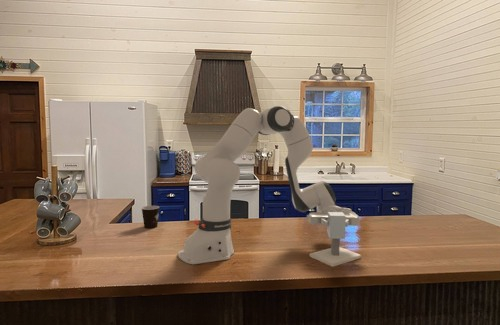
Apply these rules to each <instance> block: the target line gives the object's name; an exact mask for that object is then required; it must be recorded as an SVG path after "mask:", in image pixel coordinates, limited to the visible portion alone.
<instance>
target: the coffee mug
mask: <svg viewBox="0 0 500 325" xmlns="http://www.w3.org/2000/svg"><path fill="white" fill-rule="evenodd" d="M159 212H160V206H158V205H145V206H143V207H141V213H142V220H143V227H144V229H148V230H150V229H156V228H157V227H158V225H159V224H158V223H159V215H160V213H159Z"/></svg>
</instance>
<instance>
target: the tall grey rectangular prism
mask: <svg viewBox="0 0 500 325" xmlns="http://www.w3.org/2000/svg"><path fill="white" fill-rule="evenodd" d="M328 221H329V226H326V227H327V229H326V230H327V231H326V235H327V236H328V238H329V239H331V240H332V239H340V240H341V239H342V240H343V239H344V240H345V239H346V227H345V222H346V216H345V215H344V213H343V212H328Z"/></svg>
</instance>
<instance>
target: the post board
mask: <svg viewBox="0 0 500 325" xmlns="http://www.w3.org/2000/svg"><path fill="white" fill-rule="evenodd" d="M340 240H341V239H332V238H331V247H330V248H326V249H322V250H317V251H314V252H310V253H309V257H310V258H312V259H314V260H317V261H319V262H321V263H323V264H325V265H327V266H330V267H336V266H340V265H343V264H346V263H349V262H352V261H356V260H358V259H361V258H362V254H359V253H357V252H354V251H352V250H350V249H346V248H344V247H341V246H340V245H341V244H340V243H341V242H340Z"/></svg>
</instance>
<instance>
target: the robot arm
mask: <svg viewBox="0 0 500 325" xmlns="http://www.w3.org/2000/svg"><path fill="white" fill-rule="evenodd" d="M257 134H259V135H262V136H269V135H270V136H271V135H276V134H279V135H280V136H281V137H282V138H283V140H284V143H285V145H286V148H287V156H286V157H285V158H284V162H285V164H284V165H285V169H286V174H287V178H288V179H287V180H288V182H289V186H290V187H289V188H290V191H291V202H292V204H293V206H294V207H293V208H294V209H295V210H296V211H298V212H300V213H301V212H302V213H306V212H308V211H310V210H312V209H313V208H316V211H315V212H314V211H312V212H309V213H308V214H306V218H307V219H308V224H309V225H313V226H325V227H327V226H329V221H328V212H343V213H344V215H345V216H346V222H345V228H346V227H349V226H350V227H351V226H352V227H353V226H355V227H357V226H359V225H360V216H359V215H358V214H356V213H357V212H354V211H352V209H351V208H348V207H343V206H342V207H341V206H338V205H336V200H337V198H336V194H335V191H334V190H333V188H332V187H331V185H330V184H329V182H326V181H323V180H321V181H317V182H316V183H313V184H311V185H309V186H307V187H304V188H300V183H299V180H298V176H297V171H298V169H299V167H300V166H301V165H302V164H303V163H304V162H305V161H306V160H307V159H308V158H309V157H310V156H311V154H312V152H313V149H314V145H313V142H312V138H311V136H310V133H309V131H308V129H307V127H306V126H305V124H304V122H303V121H302V119H301V118H300V117H299V116H296V115H293V114H292V113H291V111H290V110H289V109H288V108H287V107H285V106H281V105H277V106H276V105H275V106H273V107H271V108H270V107H269V108H267V109H265V110H263V111H261V112H259V111H258V110H256V109H254V108H251V107H247V108H245V109H243V110H242V111H241V112H240V113H239V114H238V115H237V117H235V119H234V120H233V122H231V124H230V125H229V127H228V128H227V130H226V131H225V133H224V134H223V136H222V137H221V139H219V140H218V142H217V143H216V144H215V145H214V146H213V147H212V148H210V150H209V151H208V152H207V153H206V154H205V155H204V156H202V157H200V158H199V159H198V160H197V161H196V162H195V164H194V173H195V174H196V176H197V177H198V179H199V180H201V181H203V182H205V183H207V190H206V193H205V196H204V197H203V198H202V218H201V219H200V220H199V219H194V220H193V224H194V225H196V226H198V227H197V229H196V230H195V231H193V232H192V234H190V235H189V236H188V237H186V239H185V241H184V245H183V249H182V250H178V252H177V257H178V258H179V259H180V260H181V261H182V262H184V263H186V264H189V265H198V264H205V263H212V262H213V263H214V262H217V261H225V260H230V259H231V256H232V255H233V254H234V253H235V250H234V246H233V242H232V236H231V235H232V234H231V230H232V217H231V200H232V199H231V198H232V192H233V189H234V187H235V185H236V184H237V183H238V181H239V180H240V177H241V169H240V167H239V165H238V164H237V163H235V161H237V160H238V159H239V158H241V157H242V156H243V155H244V154H245V153H246V151H247V150H248V148H249V146H251V144H252V142H253V140H254V139H255V138H256V136H257Z"/></svg>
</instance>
